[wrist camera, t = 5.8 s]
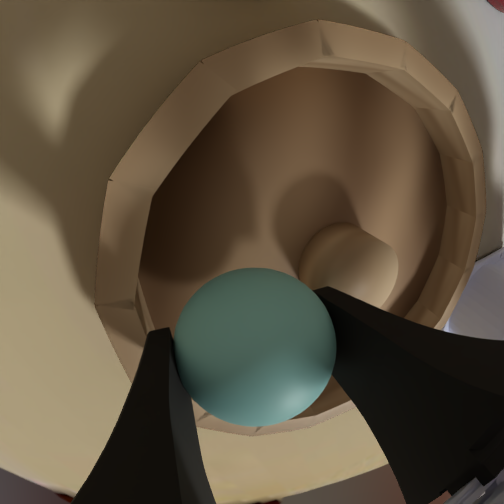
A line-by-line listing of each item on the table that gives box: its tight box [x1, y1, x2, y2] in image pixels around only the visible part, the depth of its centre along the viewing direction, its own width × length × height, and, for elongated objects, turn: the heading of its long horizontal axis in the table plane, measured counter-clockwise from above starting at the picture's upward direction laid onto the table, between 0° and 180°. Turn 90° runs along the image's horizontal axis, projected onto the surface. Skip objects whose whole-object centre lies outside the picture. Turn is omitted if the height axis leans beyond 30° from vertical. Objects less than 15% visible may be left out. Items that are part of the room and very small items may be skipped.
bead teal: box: [173, 268, 336, 427], centre depth 8 cm, size 5×5×5 cm
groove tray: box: [95, 19, 486, 436], centre depth 12 cm, size 18×18×3 cm
